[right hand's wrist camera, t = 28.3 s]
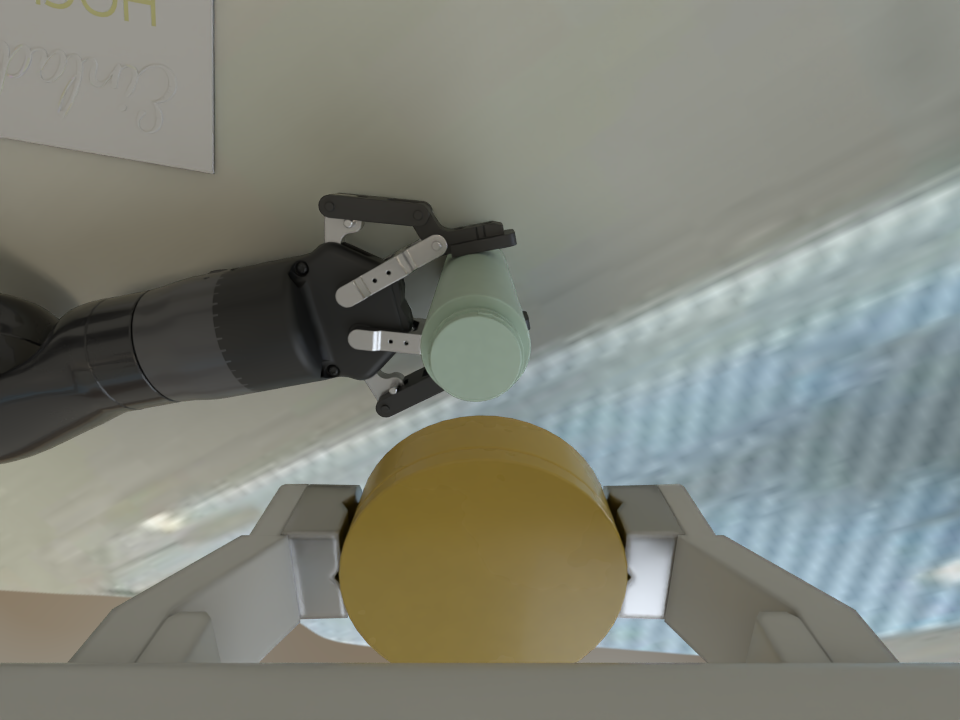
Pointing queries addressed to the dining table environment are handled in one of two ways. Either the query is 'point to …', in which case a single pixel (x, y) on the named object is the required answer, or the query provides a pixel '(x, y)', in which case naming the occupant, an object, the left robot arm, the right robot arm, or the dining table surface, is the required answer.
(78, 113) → the invitation card
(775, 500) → the dining table surface
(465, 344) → the mint green bottle
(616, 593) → the lid
